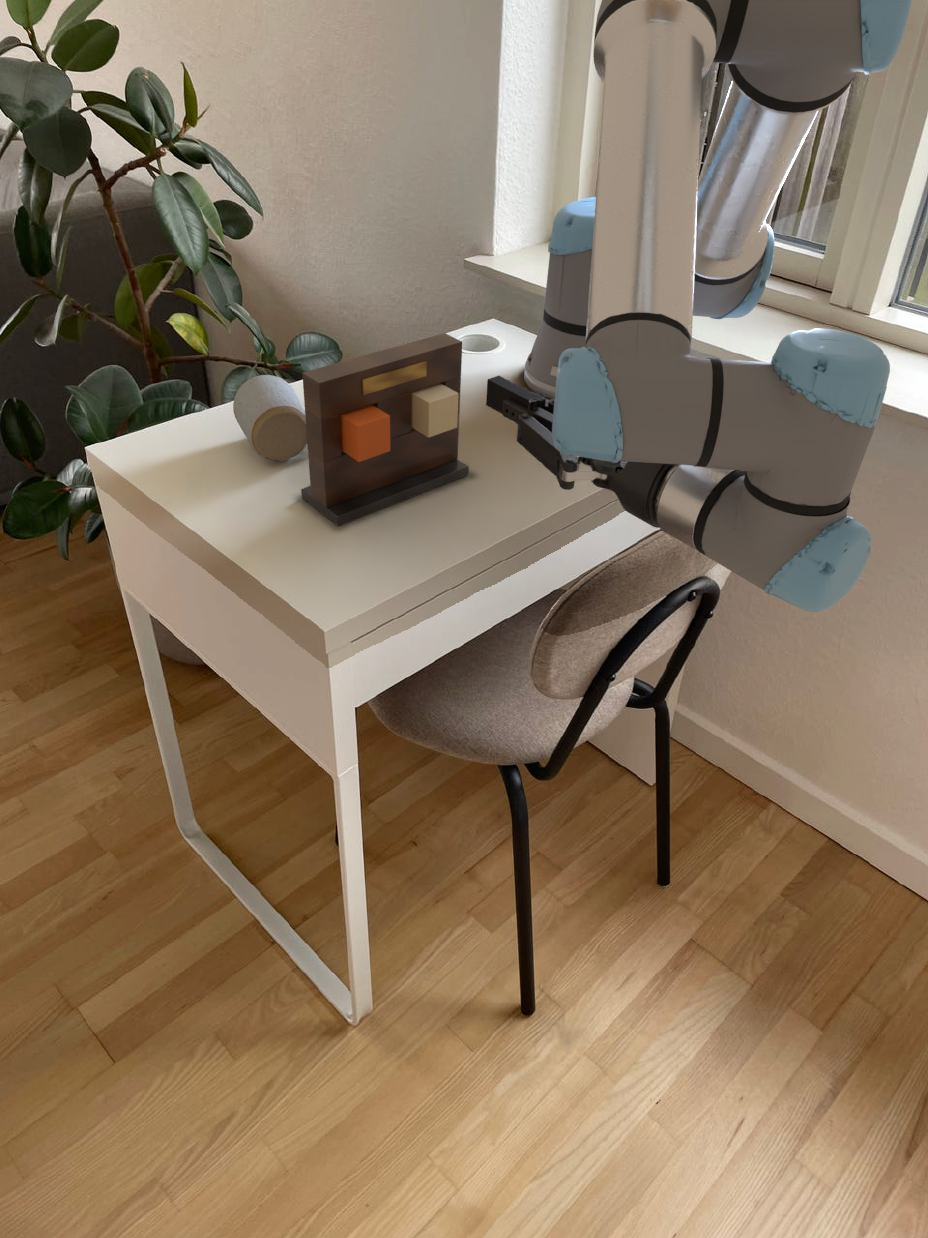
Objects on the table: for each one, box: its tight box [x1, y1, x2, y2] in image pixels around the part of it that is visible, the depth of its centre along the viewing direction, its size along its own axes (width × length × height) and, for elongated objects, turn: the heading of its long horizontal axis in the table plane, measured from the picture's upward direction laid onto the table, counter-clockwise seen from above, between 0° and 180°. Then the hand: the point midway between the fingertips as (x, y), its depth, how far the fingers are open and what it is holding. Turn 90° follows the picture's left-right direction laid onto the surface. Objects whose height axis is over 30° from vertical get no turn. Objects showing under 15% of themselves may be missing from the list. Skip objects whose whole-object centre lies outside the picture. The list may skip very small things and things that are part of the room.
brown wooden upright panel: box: [300, 332, 470, 527], centre depth 99 cm, size 18×7×15 cm, turn 130°
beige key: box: [411, 383, 459, 438], centre depth 100 cm, size 4×4×4 cm
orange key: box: [339, 404, 390, 462], centre depth 95 cm, size 4×4×4 cm
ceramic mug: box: [232, 374, 308, 462], centre depth 108 cm, size 11×8×8 cm
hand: (492, 390), depth 91 cm, fingers closed
